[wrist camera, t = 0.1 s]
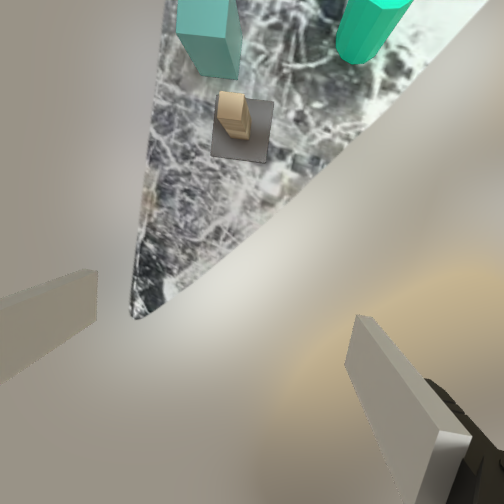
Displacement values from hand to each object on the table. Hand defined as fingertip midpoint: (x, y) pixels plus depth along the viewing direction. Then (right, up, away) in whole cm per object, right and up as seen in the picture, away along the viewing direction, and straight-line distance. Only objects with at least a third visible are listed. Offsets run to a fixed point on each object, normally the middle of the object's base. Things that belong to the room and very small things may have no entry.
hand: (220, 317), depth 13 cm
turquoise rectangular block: (-3, +30, +23) cm, 38 cm away
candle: (+15, +31, +21) cm, 41 cm away
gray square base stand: (0, +21, +25) cm, 32 cm away
